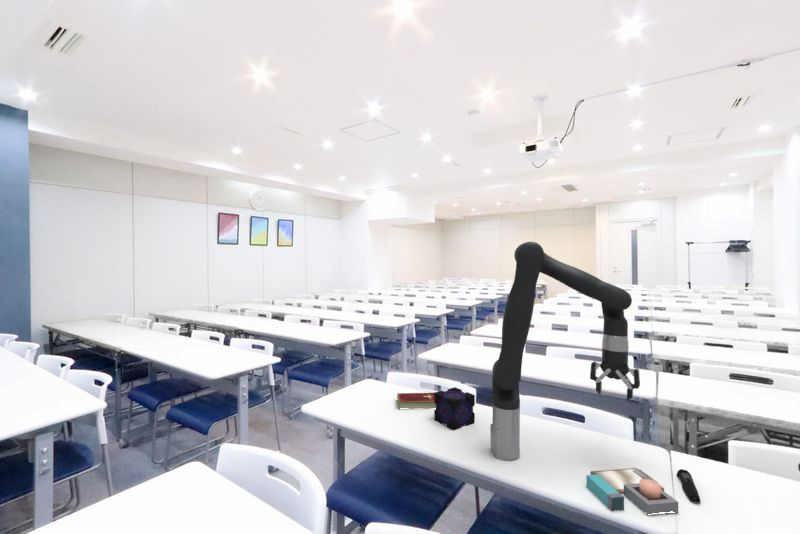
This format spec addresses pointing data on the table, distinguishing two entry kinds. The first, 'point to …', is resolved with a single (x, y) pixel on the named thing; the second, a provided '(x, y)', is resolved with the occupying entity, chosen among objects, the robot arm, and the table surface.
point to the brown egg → (650, 489)
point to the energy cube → (454, 408)
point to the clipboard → (623, 477)
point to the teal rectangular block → (605, 492)
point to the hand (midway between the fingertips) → (613, 396)
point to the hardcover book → (416, 400)
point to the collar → (653, 505)
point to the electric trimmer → (688, 485)
